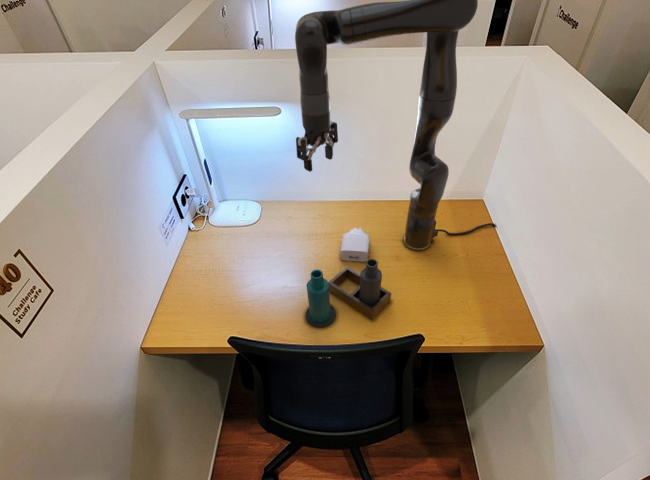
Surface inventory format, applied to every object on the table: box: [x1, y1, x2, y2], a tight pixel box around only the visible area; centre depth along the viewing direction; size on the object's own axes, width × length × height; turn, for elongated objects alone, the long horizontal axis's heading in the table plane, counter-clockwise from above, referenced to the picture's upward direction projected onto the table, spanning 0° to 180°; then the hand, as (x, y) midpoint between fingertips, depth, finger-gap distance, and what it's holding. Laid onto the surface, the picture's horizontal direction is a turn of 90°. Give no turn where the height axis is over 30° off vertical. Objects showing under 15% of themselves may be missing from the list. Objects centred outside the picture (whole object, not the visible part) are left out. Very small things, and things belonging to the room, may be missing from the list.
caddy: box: [328, 266, 392, 321], centre depth 113 cm, size 9×17×4 cm, turn 49°
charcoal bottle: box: [358, 258, 383, 308], centre depth 106 cm, size 6×6×18 cm
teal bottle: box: [306, 269, 331, 322], centre depth 102 cm, size 6×6×18 cm
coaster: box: [305, 304, 337, 329], centre depth 109 cm, size 9×9×1 cm
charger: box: [339, 226, 370, 263], centre depth 128 cm, size 5×9×15 cm
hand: (319, 164), depth 106 cm, fingers open, 8 cm apart
